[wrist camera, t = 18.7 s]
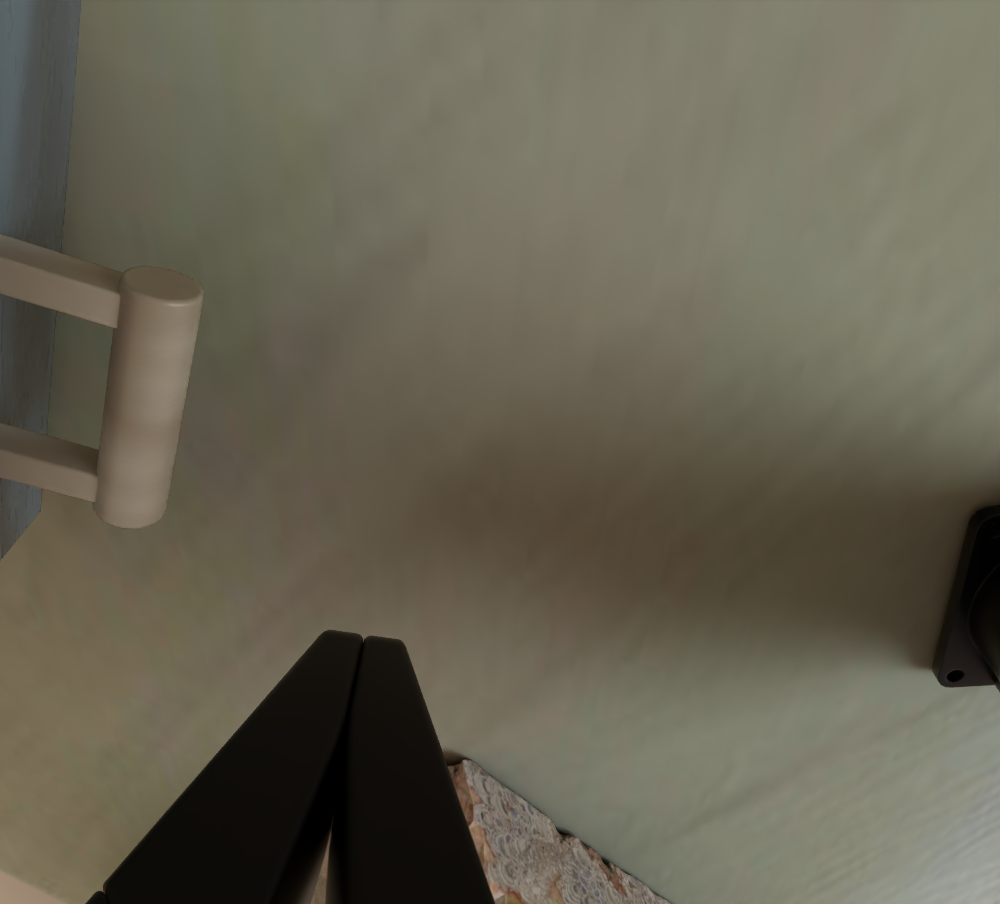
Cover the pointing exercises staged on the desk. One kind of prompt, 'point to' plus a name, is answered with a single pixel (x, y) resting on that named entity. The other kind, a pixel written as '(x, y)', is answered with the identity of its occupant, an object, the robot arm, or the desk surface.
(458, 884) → the robot arm
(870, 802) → the desk surface
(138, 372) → the drawer
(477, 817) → the geological specimen
